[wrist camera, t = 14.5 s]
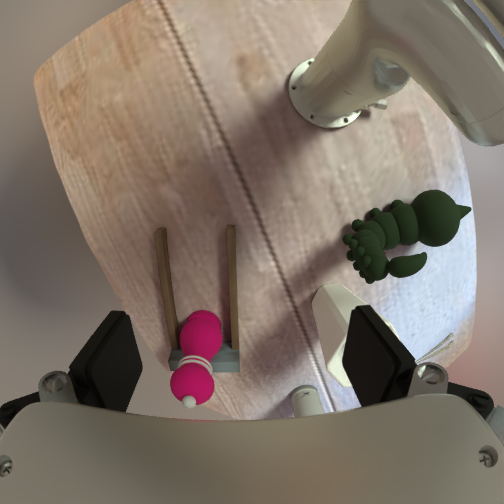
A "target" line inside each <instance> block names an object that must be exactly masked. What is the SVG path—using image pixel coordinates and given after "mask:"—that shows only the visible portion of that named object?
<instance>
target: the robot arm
mask: <svg viewBox="0 0 504 504" xmlns="http://www.w3.org/2000/svg"><path fill="white" fill-rule="evenodd" d="M473 1H474V3H475V4H476V5H477V6H478V7H479V8H480V9H481V11H482V12H483V13H484V14H485V15H486V16H487V18H488V19H489V20H490V21H491V23H492V24H493V25H494V26H495V28H496V29H497V30H498V31H499V33H500V34H501V35H502V37H503V38H504V0H473ZM308 64H310V65H308ZM410 77H412V78H413V79H414V80H415V81H416V82H417V83H418V84H419V85H421V86H422V88H423V89H424V90H425V91H426V92H427V93H428V94H429V95H430V96H431V97H432V98H433V100H434V101H435V102H436V103H437V104H438V105H439V107H440V108H441V109H442V110H443V111H444V113H445V114H446V115H447V116H448V117H449V119H450V120H451V121H452V122H453V124H454V125H455V126H456V127H457V128H458V130H459V131H460V132H461V133H462V134H463V135H464V136H465V137H466V138H467V139H468V140H470V141H471V142H473V143H475V144H477V145H481V146H496V145H500V144H503V143H504V49H503V48H502V46H501V45H500V44H499V42H498V41H497V40H496V38H495V37H494V36H493V35H492V33H491V32H490V31H489V28H488V27H487V26H486V25H485V23H484V22H483V21H482V20H481V19H480V17H479V16H478V15H477V14H476V13H475V12H474V11H473V9H472V8H471V7H470V6H469V5H468V4H467V3H466V2H465V1H464V0H352V1H351V4H350V6H349V9H348V11H347V13H346V15H345V17H344V19H343V20H342V22H341V23H340V25H339V26H338V27H337V29H336V30H335V31H334V33H333V34H332V35H331V37H330V38H329V40H328V41H327V42H326V44H325V45H324V46H323V48H322V49H321V50H320V52H319V53H318V55H317V56H316V57H315V58H311V59H308V60H305V61H304V62H302V63H300V64H299V65H298V66H297V67H296V68H295V69H294V71H293V73H292V74H291V76H290V79H289V83H288V92H289V97H290V100H291V102H292V104H293V106H294V108H295V109H296V111H297V112H298V113H299V114H300V115H301V116H302V117H303V118H304V119H306V120H307V121H308V122H310V123H312V124H314V125H316V126H319V127H323V128H340V127H343V126H346V125H348V124H350V123H352V122H353V121H354V120H355V119H356V118H357V117H358V116H359V114H360V113H361V110H362V108H369V107H370V106H372V107H375V108H378V109H383V110H385V109H386V108H387V100H386V99H384V98H386V97H388V96H391V95H393V94H395V93H397V92H399V91H400V90H401V89H402V88H403V87H404V86H405V85H406V84H407V82H408V81H409V79H410ZM292 88H294V89H295V90H293V89H292ZM310 116H311V117H313V119H311V118H310ZM343 120H345V122H344V121H343ZM414 361H415V358H414V357H413V356H412V355H411V353H410V352H409V351H408V350H407V348H406V347H405V346H404V345H403V344H402V342H401V341H400V340H399V339H398V337H397V336H396V335H395V334H394V333H393V332H392V330H391V329H390V328H389V327H388V326H387V324H386V323H385V322H384V321H383V320H382V319H381V317H380V316H379V315H378V314H377V313H376V312H375V310H374V309H373V308H372V307H371V306H370V305H359V306H356V307H355V309H353V310H352V311H351V315H350V321H349V327H348V332H347V337H346V342H345V347H344V352H343V357H342V366H343V368H344V370H345V372H346V374H347V377H348V379H349V381H350V383H351V385H352V387H353V389H354V391H355V393H356V396H357V398H358V400H359V402H360V404H361V406H362V407H359V408H354V409H348V410H343V411H337V412H331V413H324V414H317V415H309V416H301V417H291V418H279V419H264V420H235V421H233V420H230V421H227V420H223V421H220V420H192V419H177V418H164V417H156V416H147V415H140V414H133V413H126V410H127V407H128V405H129V402H130V399H131V397H132V395H133V392H134V390H135V387H136V384H137V382H138V380H139V377H140V375H141V372H142V361H141V358H140V354H139V351H138V347H137V344H136V340H135V336H134V332H133V328H132V324H131V320H130V316H129V315H126V313H125V312H124V311H111V312H110V313H109V314H108V316H107V317H106V318H105V320H104V321H103V322H102V323H101V324H100V326H99V327H98V328H97V330H96V331H95V332H94V334H93V335H92V336H91V337H90V339H89V340H88V341H87V343H86V344H85V346H84V347H83V348H82V349H81V351H80V352H79V353H78V355H77V356H76V358H75V359H74V360H73V362H72V363H71V365H70V366H69V368H70V371H69V372H68V374H67V373H66V372H63V371H52V372H50V373H47V374H46V375H44V376H43V377H42V378H41V379H40V381H39V384H38V389H39V391H38V392H35V393H32V394H30V395H27V396H24V397H21V398H19V399H15V400H12V401H9V402H7V403H5V404H3V405H2V406H1V408H0V504H504V408H503V407H501V406H499V405H497V407H496V408H495V407H494V403H493V400H492V398H491V397H490V396H489V394H487V393H485V392H483V391H481V390H477V389H473V388H469V387H465V386H462V385H458V384H455V383H451V382H448V374H447V371H446V370H445V369H444V368H443V367H442V366H440V365H438V364H435V363H431V362H425V363H421V364H419V365H417V364H416V363H415V362H414Z"/></svg>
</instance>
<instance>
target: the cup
mask: <svg viewBox="0 0 504 504" xmlns="http://www.w3.org/2000/svg"><path fill="white" fill-rule="evenodd" d="M359 305H368V304H367V303H365V302H364V301H363V300H361V299H360V298H359V297H358V296H356V295H355V294H354V293H353V292H351V291H350V290H349V289H347V288H346V287H345V286H344V285H342V284H340V283H334V284H329V285H323V286H322V287H320V288H319V289H318V291H317V293H316V295H315V297H314V299H313V301H312V310H313V314H314V318H315V322H316V326H317V330H318V334H319V339H320V343H321V347H322V352H323V356H324V360H325V365H326V369H327V371H328V372H329V373H330V374H331V375H332V376H333V377H334V378H335V379H336V380H337V382H338V383H339V384H340V385H341V386H342V387H352V385H351V383H350V381H349V379H348V377H347V374H346V372H345V370H344V368H343V366H342V357H343V352H344V347H345V342H346V337H347V332H348V327H349V321H350V315H351V311H352V310H353V309H355V307H356V306H359ZM375 312H376V313H377V314H378V315H379V316H380V317H381V319H382V320H383V321H384V322H385V323H386V324H387V326H388V327H389V328H390V329H391V330H392V332H393V333H394V334H395V335H396V336H397V337H398V339H399V340H400V338H399V336H398V335H397V333H396V331H395V329H394V327H393V325H392V323H390V322H389V321H388V320H387V319H385V318H384V317H383V316H382V315H380V314H379V313H378V312H377V311H375ZM400 341H401V340H400Z"/></svg>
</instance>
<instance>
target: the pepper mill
mask: <svg viewBox="0 0 504 504" xmlns="http://www.w3.org/2000/svg"><path fill="white" fill-rule="evenodd" d="M222 341H223V336H222V332H221V322H220V320H219V318H218V317H217V316H216V315H215V314H213V313H212V312H209V311H205V310H200V311H196V312H194V313H192V314H191V315H190V316H189V318H188V320H187V323H186V324H185V325H184V326H183V328H182V330H181V333H180V344H181V347H182V350H183V353H184V358H182V359H181V360H180V362H179V364H178V368H177V369H176V370H175V371H174V373H173V374H172V377H171V380H170V386H171V391H172V393H173V394H174V396H175V397H176V398H177V399H178V400H180V401H181V402H182V404H183V405H184V407H186V408H193V407H194V406H195V405H199V404H202V403H204V402H206V401H207V400H209V399H210V397H211V396H212V394H213V392H214V380H213V378H212V366H211V364H210V362H211V359H212V358H213V357H214V356H215V355H216V354H217V353H218V351H219V350H220V348H221V346H222Z"/></svg>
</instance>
